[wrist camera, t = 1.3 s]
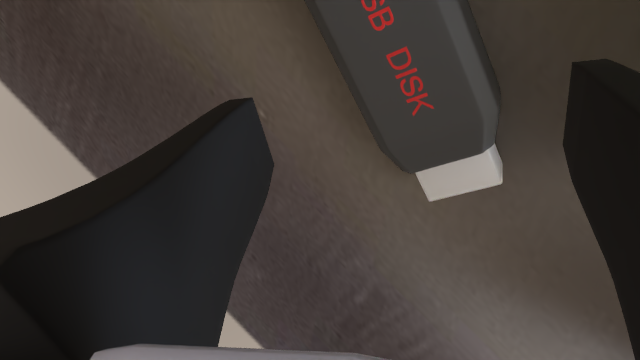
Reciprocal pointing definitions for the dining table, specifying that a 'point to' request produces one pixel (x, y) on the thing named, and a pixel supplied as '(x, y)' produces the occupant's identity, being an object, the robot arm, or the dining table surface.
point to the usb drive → (420, 86)
